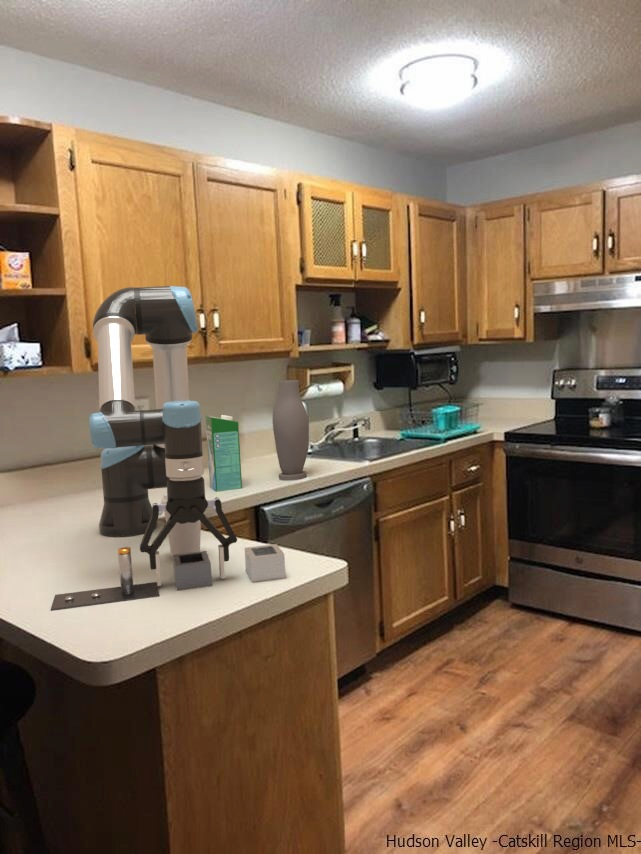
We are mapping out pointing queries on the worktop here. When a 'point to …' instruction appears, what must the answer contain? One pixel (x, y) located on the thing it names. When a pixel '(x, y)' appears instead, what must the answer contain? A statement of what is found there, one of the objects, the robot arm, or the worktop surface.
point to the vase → (290, 431)
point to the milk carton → (223, 453)
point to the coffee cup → (183, 535)
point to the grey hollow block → (192, 570)
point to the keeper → (109, 589)
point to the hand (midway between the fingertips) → (191, 580)
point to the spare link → (265, 562)
